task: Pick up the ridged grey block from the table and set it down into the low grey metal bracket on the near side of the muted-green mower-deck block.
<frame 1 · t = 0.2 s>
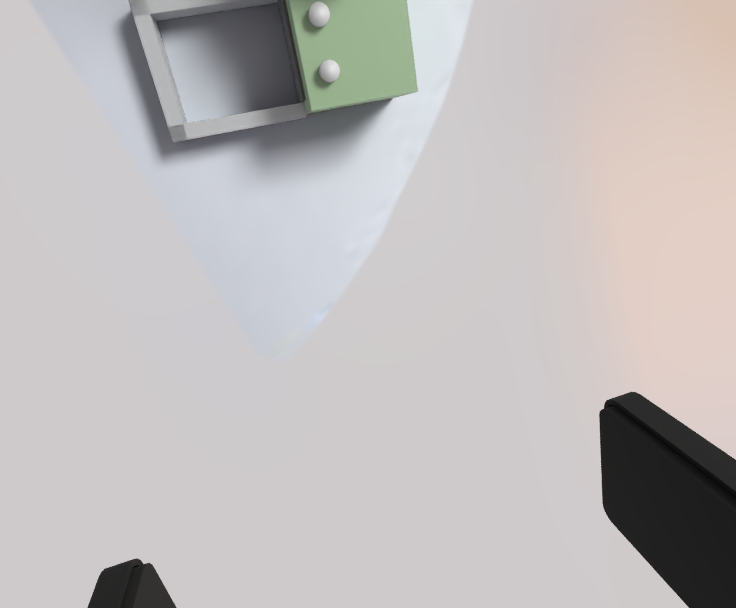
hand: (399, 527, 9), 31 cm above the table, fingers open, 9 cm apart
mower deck: (248, 28, 32), on the table
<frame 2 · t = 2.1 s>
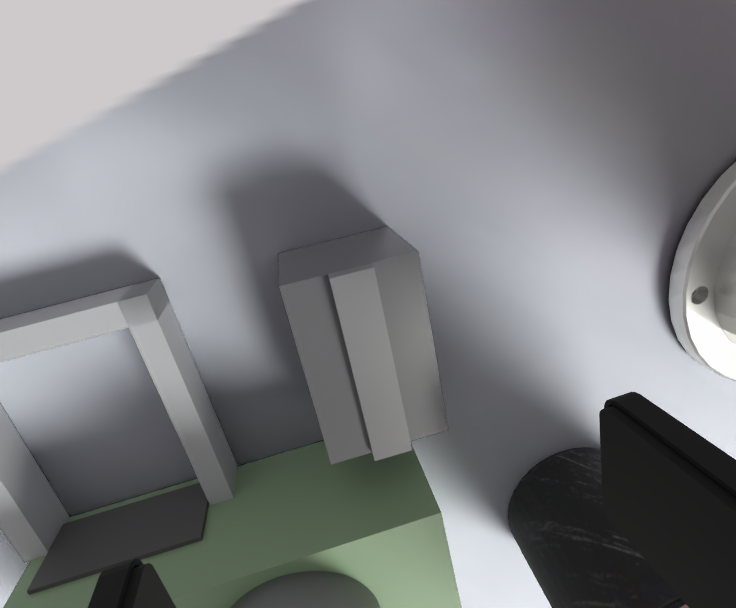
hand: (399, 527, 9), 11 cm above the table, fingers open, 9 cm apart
ridged grey block: (352, 317, 20), on the table
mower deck: (167, 436, 20), on the table
travel mug: (565, 498, 26), on the table
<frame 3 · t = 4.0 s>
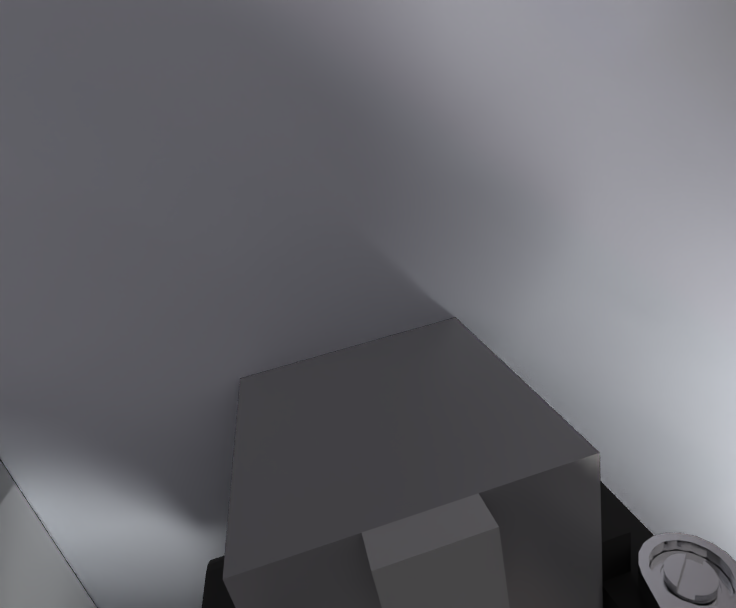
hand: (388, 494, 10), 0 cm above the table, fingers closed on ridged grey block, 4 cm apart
ridged grey block: (383, 480, 11), on the table, touching gripper
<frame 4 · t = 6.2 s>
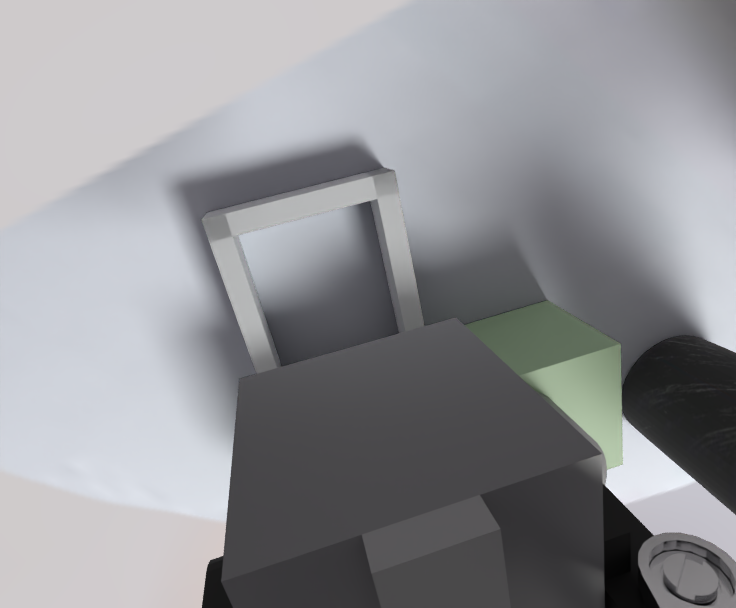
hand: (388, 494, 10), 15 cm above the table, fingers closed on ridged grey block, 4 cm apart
ridged grey block: (383, 481, 11), point 14 cm above the table, touching gripper
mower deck: (369, 308, 25), on the table
travel mug: (666, 383, 31), on the table
when the fingers open (2 cm above the table, at t = 8.2 s): ridged grey block drops 2 cm, resting in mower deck.
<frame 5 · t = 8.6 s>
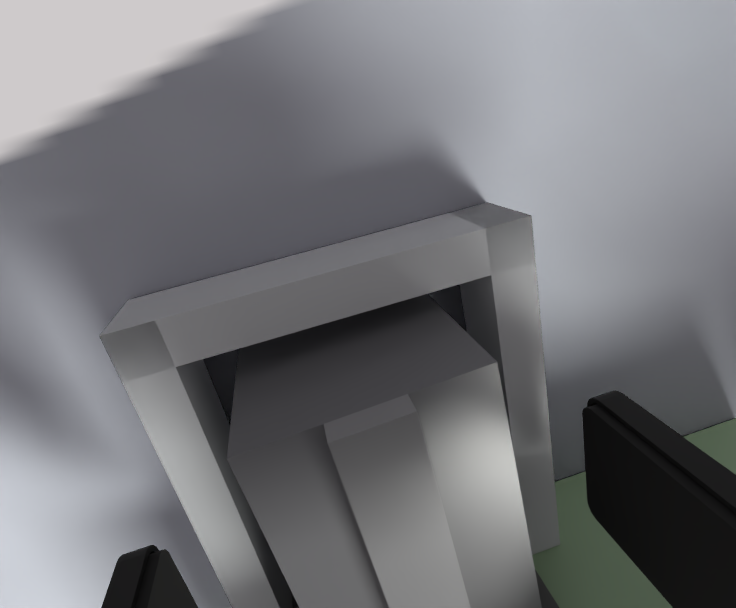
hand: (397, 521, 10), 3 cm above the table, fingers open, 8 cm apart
ridged grey block: (365, 422, 13), resting in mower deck
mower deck: (443, 453, 14), on the table
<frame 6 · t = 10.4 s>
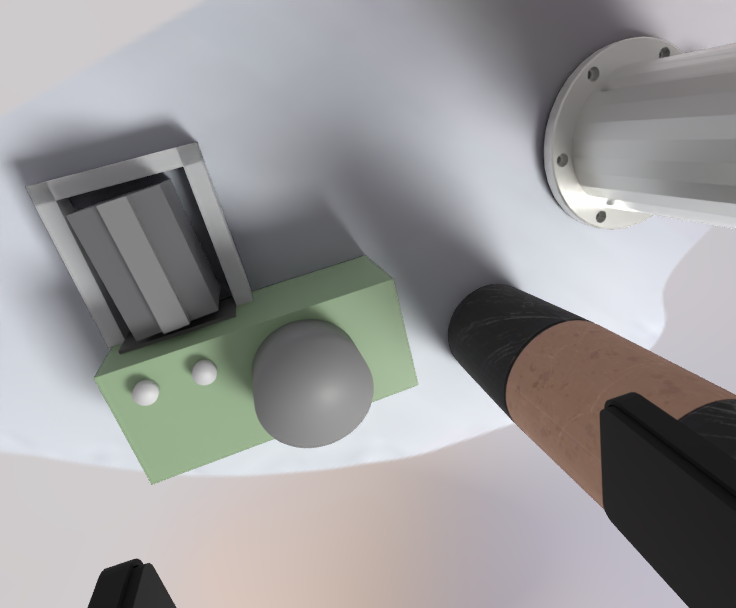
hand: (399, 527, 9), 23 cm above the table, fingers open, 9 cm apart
ridged grey block: (159, 248, 28), resting in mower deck
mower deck: (202, 265, 29), on the table
travel mug: (488, 327, 36), on the table
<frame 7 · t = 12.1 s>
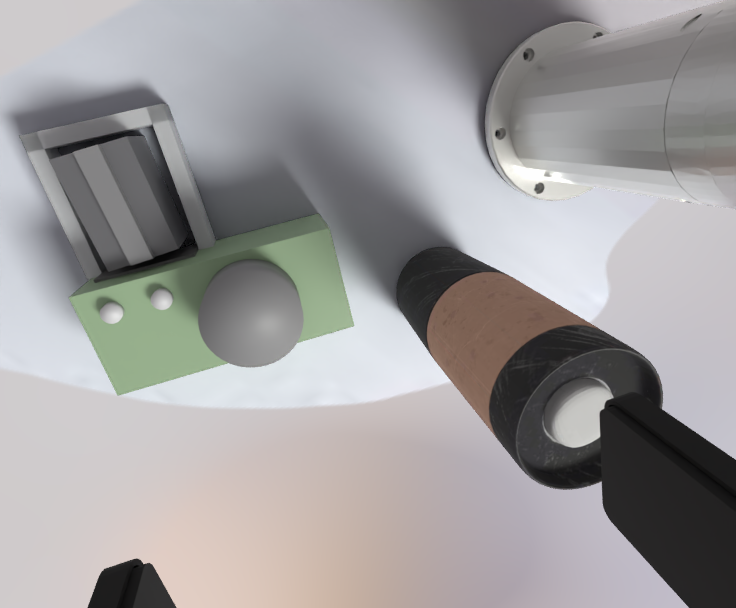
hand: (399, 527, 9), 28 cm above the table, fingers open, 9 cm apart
ridged grey block: (135, 197, 32), resting in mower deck
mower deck: (172, 214, 33), on the table
travel mug: (435, 287, 39), on the table
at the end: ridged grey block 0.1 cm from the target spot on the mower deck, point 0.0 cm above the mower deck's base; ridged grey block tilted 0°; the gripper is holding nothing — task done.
